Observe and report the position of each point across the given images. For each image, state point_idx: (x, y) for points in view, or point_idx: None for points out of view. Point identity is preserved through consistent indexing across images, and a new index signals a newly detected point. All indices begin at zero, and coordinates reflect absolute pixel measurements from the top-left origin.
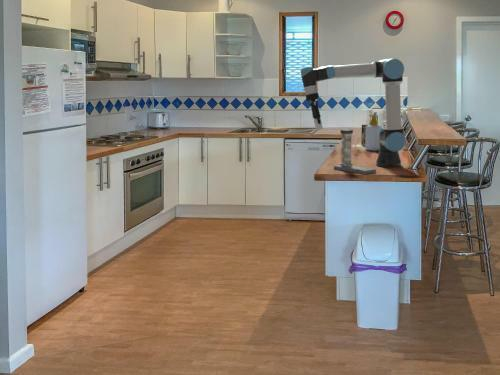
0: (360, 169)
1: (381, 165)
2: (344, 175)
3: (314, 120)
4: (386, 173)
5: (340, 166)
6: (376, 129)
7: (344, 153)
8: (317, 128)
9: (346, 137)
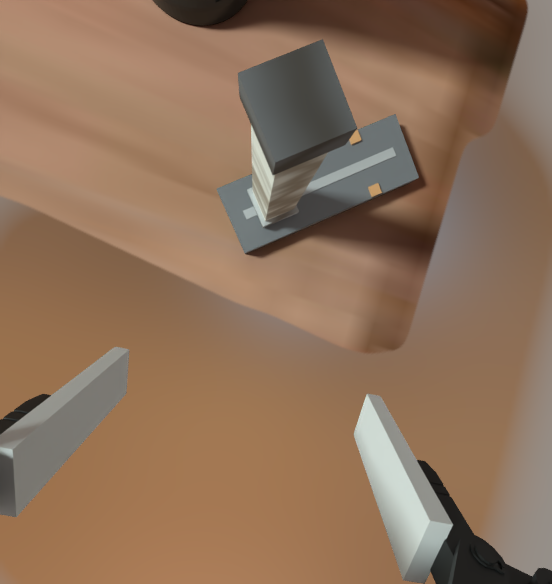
0: (381, 180)
1: (230, 13)
2: (415, 268)
3: (49, 474)
4: (415, 88)
5: (273, 231)
6: None
7: (290, 200)
8: (125, 378)
9: (325, 154)
